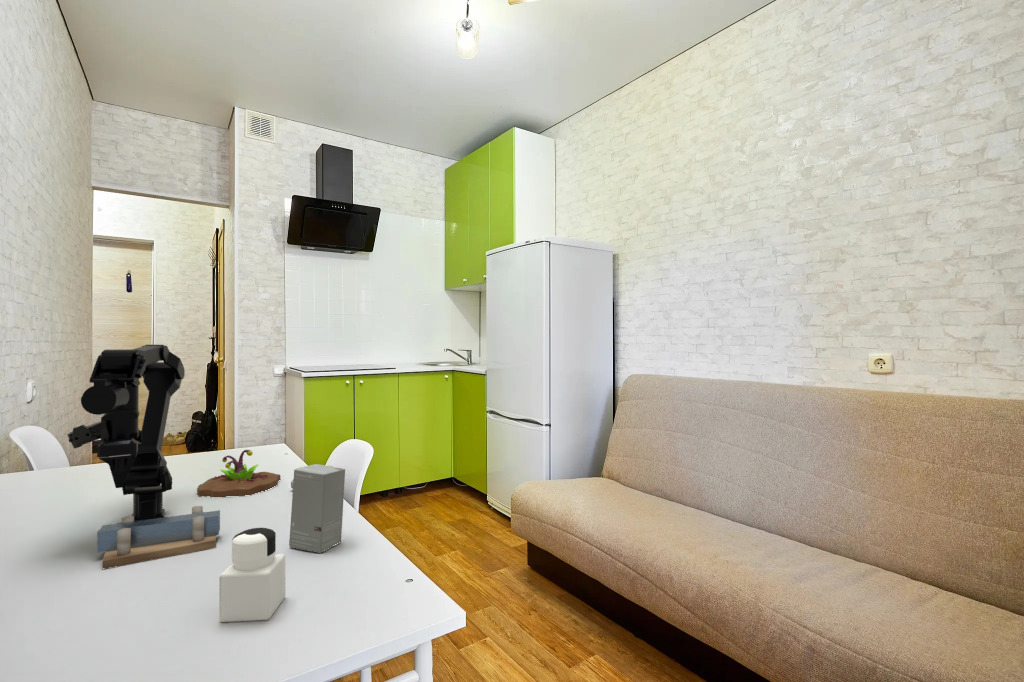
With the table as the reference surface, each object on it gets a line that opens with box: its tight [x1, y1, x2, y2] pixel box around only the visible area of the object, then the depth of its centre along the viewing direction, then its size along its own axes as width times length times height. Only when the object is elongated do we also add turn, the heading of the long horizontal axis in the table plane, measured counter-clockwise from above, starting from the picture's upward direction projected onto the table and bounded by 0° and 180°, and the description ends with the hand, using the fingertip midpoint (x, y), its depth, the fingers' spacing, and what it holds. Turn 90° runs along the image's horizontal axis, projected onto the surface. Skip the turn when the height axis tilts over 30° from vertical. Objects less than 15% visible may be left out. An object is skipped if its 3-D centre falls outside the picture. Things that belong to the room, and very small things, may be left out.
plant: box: [196, 449, 282, 498], centre depth 146 cm, size 20×20×11 cm
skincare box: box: [288, 463, 346, 554], centre depth 104 cm, size 8×7×16 cm
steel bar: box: [96, 509, 221, 554], centre depth 102 cm, size 20×4×4 cm, turn 116°
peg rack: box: [101, 505, 217, 570], centre depth 103 cm, size 12×18×6 cm, turn 123°
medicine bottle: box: [219, 527, 286, 623], centre depth 78 cm, size 7×7×12 cm
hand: (121, 482), depth 107 cm, fingers open, 9 cm apart
